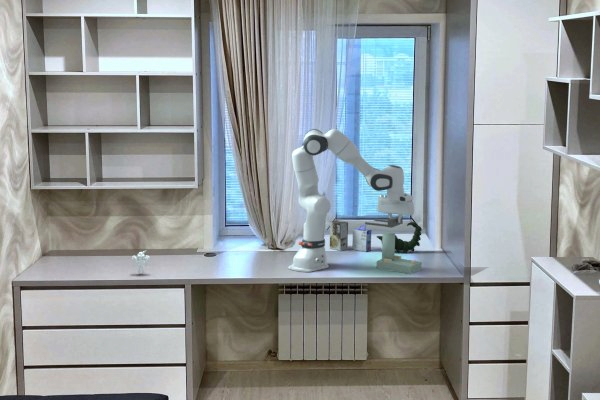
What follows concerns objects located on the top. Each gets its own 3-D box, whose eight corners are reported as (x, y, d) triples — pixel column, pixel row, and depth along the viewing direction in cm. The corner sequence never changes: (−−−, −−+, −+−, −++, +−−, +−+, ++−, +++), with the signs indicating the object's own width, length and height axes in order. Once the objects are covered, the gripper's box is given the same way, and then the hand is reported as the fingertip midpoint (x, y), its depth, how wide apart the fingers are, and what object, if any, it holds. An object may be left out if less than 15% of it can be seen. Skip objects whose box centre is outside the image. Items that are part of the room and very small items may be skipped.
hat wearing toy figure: (150, 272, 393) (150, 249, 391) (149, 274, 389) (148, 251, 387) (132, 272, 392) (132, 249, 390) (131, 274, 389) (130, 251, 387)
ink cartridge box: (371, 250, 445) (372, 225, 442) (366, 252, 440) (366, 227, 438) (357, 247, 451) (357, 223, 448) (351, 249, 446) (352, 225, 444)
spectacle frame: (391, 227, 398) (391, 220, 398) (364, 224, 408) (364, 217, 407) (402, 223, 408) (402, 216, 407) (375, 220, 417) (375, 213, 417)
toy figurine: (417, 253, 445) (374, 248, 446) (421, 221, 442) (378, 216, 443) (419, 257, 436) (375, 252, 437) (423, 224, 433) (378, 219, 434)
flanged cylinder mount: (410, 274, 393) (411, 239, 390) (376, 268, 404) (377, 234, 401) (421, 269, 403) (422, 235, 400) (387, 263, 414) (388, 230, 411)
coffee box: (348, 249, 446) (348, 222, 444) (340, 251, 442) (340, 223, 439) (336, 246, 453) (337, 219, 450) (329, 248, 449) (329, 221, 446)
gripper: (374, 195, 404) (374, 221, 407) (409, 198, 393) (409, 225, 395) (380, 193, 410) (380, 219, 412) (415, 197, 398) (415, 223, 400)
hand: (395, 222), depth 404 cm, fingers closed on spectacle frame, 2 cm apart
